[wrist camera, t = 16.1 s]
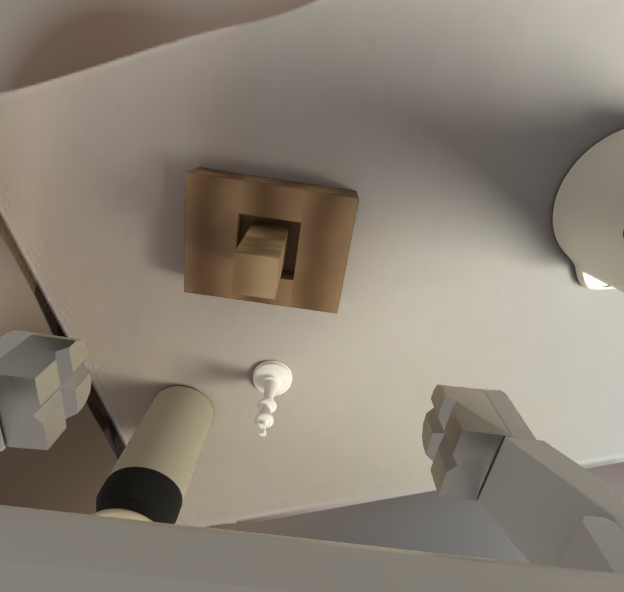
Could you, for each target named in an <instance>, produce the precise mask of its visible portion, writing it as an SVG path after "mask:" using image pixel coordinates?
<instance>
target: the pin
mask: <svg viewBox="0 0 624 592" xmlns="http://www.w3.org/2000/svg"><path fill="white" fill-rule="evenodd" d="M288 231H289V227H288V226H282V225H275V224H268V223H261V222H255V221H254V222H253V224H252V225H251V227H250V228H249V230H248V231H247V233H246V235H245V236H244V238H243V239H242V241H241V242H240V244H239V246H238V247H237V249H236V250H235V252H234V263H233V278H232V294H239V295H246V296H253V297H261V298H268V299H275V296H276V292H277V289H278V285H279V281H280V277H281V273H282V269H283V265H284V261H285V255H286V247H287V239H288Z"/></svg>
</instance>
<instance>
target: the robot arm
mask: <svg viewBox="0 0 624 592" xmlns="http://www.w3.org/2000/svg"><path fill="white" fill-rule="evenodd" d="M553 229H554V233H555V237H556V239H557V242H558V244H559V246H560V247H561V249H562V250H563V251H564V253H565V254H566V255H567V256H568V257H569V258H570V259H571V260H572V262H573V263H574V265H575V269H576V274H577V278H578V281H579V283H580V284H581V285H582V286H583V287H585V288H587V289H590V290H610V289H618V290H620V291H622V292H624V129H622V130H620V131H618V132H616V133H613V134H611V135H609V136H608V137H606V138H604V139H603V140H601V141H600V142H598V143H597V144H595V145H594V146H593V147H591V148H590V149H589V150H588V151H587V152H585V153H584V154H583V155H582V156H581V157H580V158H579V159H578V161H577V162H576V163H575V164H574V165H573V167H572V168H571V169H570V171H569V172H568V174H567V175H566V177H565V178H564V180H563V182H562V184H561V186H560V188H559V191H558V193H557V196H556V199H555V203H554V208H553ZM88 357H89V356H88V349H87V344H86V343H85V342H84V341H83V340H81V339H74V338H67V337H60V336H53V335H46V334H40V333H39V334H37V333H32V332H23V331H9V332H8V333H6V334H5V335H3V336H2V337H0V451H2V450H4V449H5V446H7V447H18V448H29V449H41V450H48V449H49V448H50V447H51V446H52V444H53V443H54V442H55V441H56V440H57V438H58V437H59V436H60V435H61V433H62V432H63V431H64V430H65V429H66V420H65V419H67V418H69V417H71V416H73V415H75V414H77V413H78V412H79V411H80V410H81V409H82V407H83V406H84V405H85V403H86V401H87V398H88V396H89V393H90V389H91V373H90V372H89V370H88V369H87V368H86V367H85V366H84V365H83V363H84V361H85V360H86V359H87V358H88ZM431 400H432V403H433V405H434V408H433V409H432V410H430V411H429V412H428V413H426V416H425V420H424V423H423V433H422V439H423V446H424V450H425V453H426V455H427V456H428V457H429V458H430V459H431V460H432V461H433V464H432V467H431V473H432V476H433V479H434V482H435V486H436V489H437V492H438V495H441V496H448V497H455V498H462V499H468V500H475V501H477V503H478V504H479V505H480V507H481V508H482V509H483V510H484V511H485V512H486V513H487V514H488V516H489V517H490V518H491V519H492V520H493V521H494V522H495V524H496V525H497V526H498V527H499V528H500V529H501V530H502V531H503V533H504V534H505V535H506V536H507V537H508V538H509V539H510V540H511V541H512V543H513V544H514V545H515V546H516V547H517V548H518V549H519V551H520V552H521V553H522V554H523V555H524V556H525V557H526V558H527V560H528V561H529V562H530V563H521V562H513V561H504V560H494V559H485V558H476V557H466V556H457V555H448V554H438V553H429V552H419V551H412V550H403V549H393V548H385V547H376V546H366V545H357V544H349V543H340V542H331V541H322V540H313V539H305V538H295V537H286V536H277V535H269V534H260V533H251V532H241V531H232V530H223V529H214V528H205V527H196V526H187V525H178V524H168V523H159V522H150V521H141V520H132V519H123V518H114V517H105V516H96V515H86V514H77V513H68V512H59V511H50V510H40V509H32V508H22V507H14V506H4V505H0V592H624V495H622V494H621V493H619V492H618V491H616V490H615V489H614V488H612V487H611V486H609V485H608V484H606V483H605V482H603V481H602V480H600V479H599V478H597V477H596V476H594V475H593V474H591V473H590V472H589V471H587V470H586V469H584V468H583V467H581V466H580V465H578V464H577V463H575V462H574V461H572V460H571V459H569V458H568V457H566V456H565V455H564V454H562V453H561V452H559V451H558V450H556V449H555V448H553V447H552V446H550V445H549V444H547V443H546V442H544V441H540V440H536V438H535V437H534V435H533V434H532V432H531V431H530V429H529V428H528V426H527V425H526V423H525V422H524V420H523V419H522V417H521V416H520V414H519V413H518V411H517V410H516V408H515V407H514V405H513V404H512V402H511V401H510V399H509V398H508V396H507V395H506V394H505V393H504V392H502V391H500V390H489V389H474V388H465V387H456V386H447V385H437V386H436V387H435V389H434V391H433V394H432V397H431Z"/></svg>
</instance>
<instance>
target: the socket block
mask: <svg viewBox="0 0 624 592" xmlns="http://www.w3.org/2000/svg"><path fill="white" fill-rule="evenodd" d="M358 202H359V198H358V195H357V193H356V191H350V190H344V189H337V188H330V187H324V186H317V185H311V184H304V183H298V182H291V181H285V180H278V179H271V178H265V177H258V176H252V175H245V174H239V173H232V172H226V171H219V170H212V169H206V168H199V167H198V168H196V169H193V170H191V171H189V172H186V202H185V269H184V292H188V293H195V294H203V295H210V296H217V297H224V298H231V299H238V300H245V301H252V302H259V303H266V304H274V305H281V306H288V307H295V308H302V309H309V310H316V311H323V312H330V313H337V312H338V306H339V301H340V296H341V291H342V285H343V280H344V275H345V270H346V265H347V259H348V254H349V249H350V244H351V238H352V233H353V228H354V223H355V218H356V212H357V207H358ZM254 221H255V222H261V223H268V224H275V225H282V226H288V227H289V231H288V239H287V247H286V255H285V261H284V265H283V269H282V273H281V277H280V281H279V285H278V289H277V292H276V296H275V299H268V298H261V297H253V296H246V295H239V294H232V278H233V263H234V252H235V250H236V249H237V247H238V246H239V244H240V242H241V241H242V239H243V238H244V236H245V235H246V233H247V231H248V230H249V228H250V227H251V225H252V224H253V222H254Z"/></svg>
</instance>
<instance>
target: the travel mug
mask: <svg viewBox="0 0 624 592" xmlns="http://www.w3.org/2000/svg"><path fill="white" fill-rule="evenodd" d="M213 415H214V412H213V408H212V405H211V403H210V402H209V400H208V399H207V398H206V397H205V396H204V395H203V394H202V393H200V392H198V391H197V390H195V389H192V388H189V387H184V386H173V387H168V388H166V389H164V390H162V391H160V392H159V393H158V394H157V395H156V397H155V398H154V400H153V402H152V403H151V405H150V407H149V409H148V410H147V412H146V414H145V415H144V417H143V419H142V420H141V422H140V424H139V425H138V427H137V429H136V431H135V432H134V434H133V436H132V437H131V439H130V441H129V442H128V444H127V446H126V447H125V449H124V451H123V453H122V454H121V456H120V458H119V459H118V461H117V463H116V464H115V466H114V468H113V469H112V471H111V473H110V475H109V476H108V478H107V480H106V481H105V483H104V485H103V486H102V488H101V490H100V492H99V494H98V496H97V499H96V512H95V513H94V514H92V515H96V516H105V517H114V518H123V519H132V520H141V521H150V522H159V523H168V524H175V522H176V520H177V517H178V514H179V512H180V509H181V506H182V503H183V501H184V498H185V495H186V492H187V489H188V487H189V484H190V481H191V478H192V476H193V473H194V470H195V467H196V464H197V462H198V459H199V456H200V453H201V451H202V448H203V445H204V442H205V440H206V437H207V434H208V431H209V428H210V426H211V423H212V420H213Z"/></svg>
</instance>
